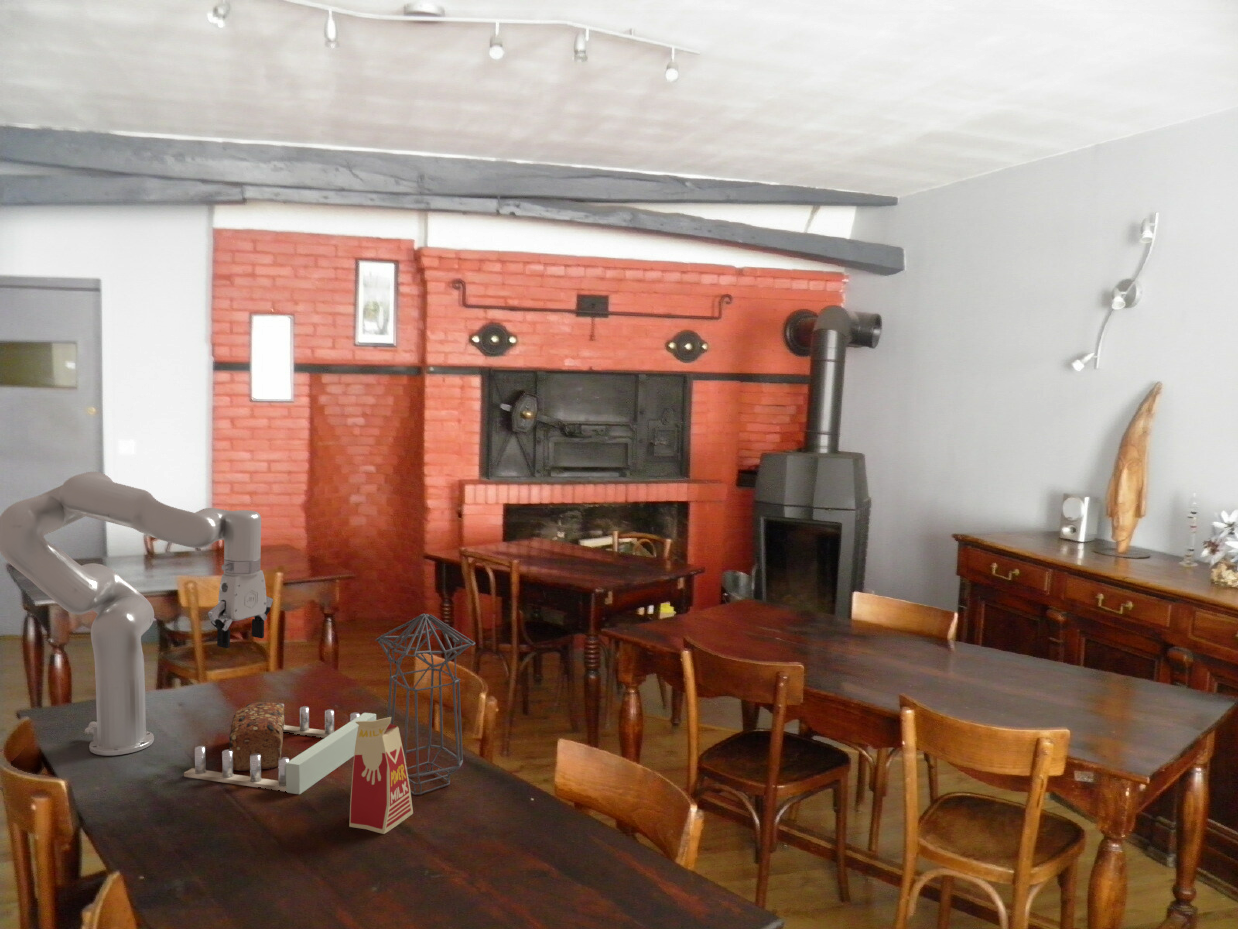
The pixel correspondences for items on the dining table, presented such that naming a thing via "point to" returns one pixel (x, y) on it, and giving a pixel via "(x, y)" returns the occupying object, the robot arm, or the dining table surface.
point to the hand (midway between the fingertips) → (240, 642)
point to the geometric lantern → (450, 633)
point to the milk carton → (379, 778)
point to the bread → (257, 734)
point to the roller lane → (299, 769)
